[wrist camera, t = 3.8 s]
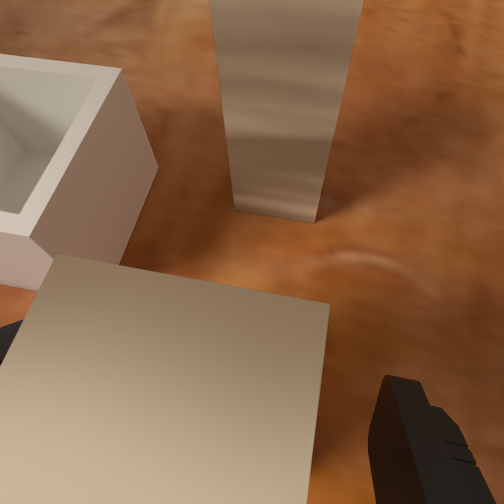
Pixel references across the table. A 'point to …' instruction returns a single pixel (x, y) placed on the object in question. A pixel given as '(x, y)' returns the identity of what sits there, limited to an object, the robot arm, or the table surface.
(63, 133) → the open square box
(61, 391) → the tall square pillar
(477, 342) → the table surface
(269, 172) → the beige rectangular block
